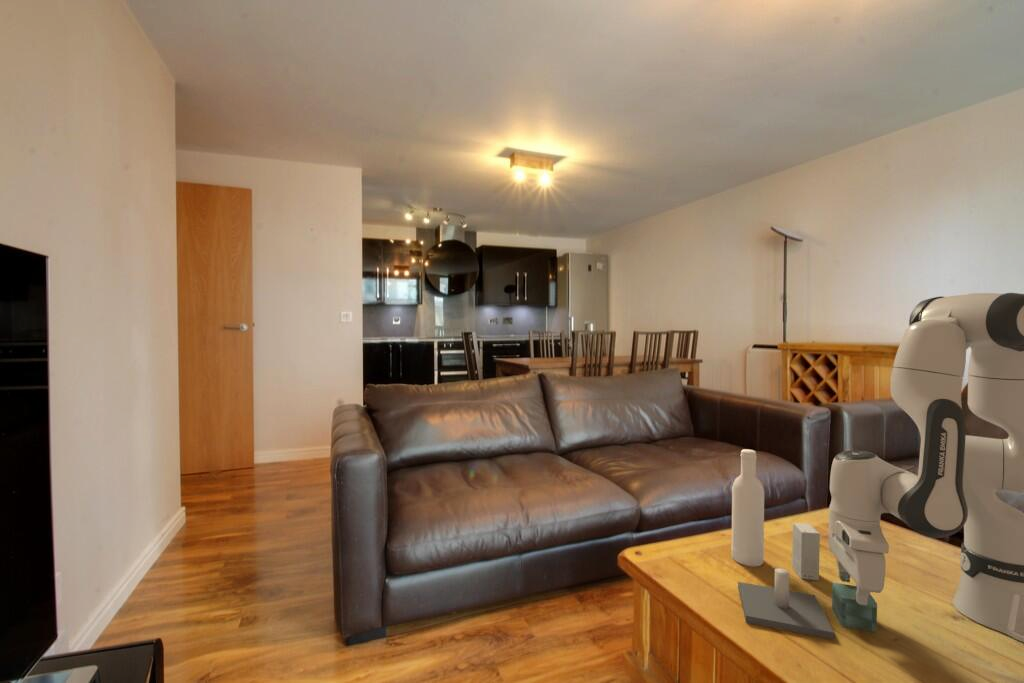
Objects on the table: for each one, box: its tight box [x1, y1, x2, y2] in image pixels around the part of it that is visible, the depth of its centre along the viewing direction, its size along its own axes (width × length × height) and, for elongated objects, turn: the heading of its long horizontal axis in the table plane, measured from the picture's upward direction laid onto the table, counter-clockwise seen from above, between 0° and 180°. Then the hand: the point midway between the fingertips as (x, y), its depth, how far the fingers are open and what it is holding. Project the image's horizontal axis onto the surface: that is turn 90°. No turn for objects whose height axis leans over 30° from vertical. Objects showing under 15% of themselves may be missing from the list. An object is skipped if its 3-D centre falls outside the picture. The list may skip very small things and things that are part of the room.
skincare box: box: [791, 522, 821, 581], centre depth 117 cm, size 6×4×12 cm
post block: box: [737, 567, 835, 641], centre depth 102 cm, size 16×14×9 cm
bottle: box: [730, 448, 765, 567], centre depth 125 cm, size 8×8×30 cm
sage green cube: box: [831, 582, 878, 632], centre depth 99 cm, size 6×6×6 cm
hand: (852, 591), depth 98 cm, fingers open, 8 cm apart
